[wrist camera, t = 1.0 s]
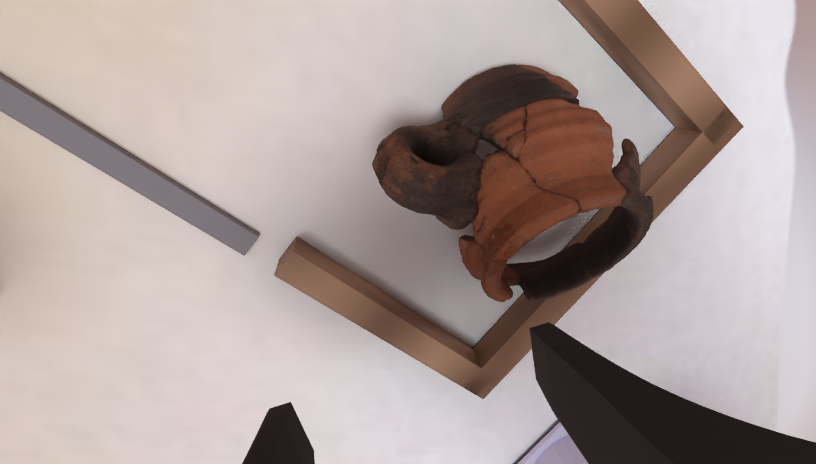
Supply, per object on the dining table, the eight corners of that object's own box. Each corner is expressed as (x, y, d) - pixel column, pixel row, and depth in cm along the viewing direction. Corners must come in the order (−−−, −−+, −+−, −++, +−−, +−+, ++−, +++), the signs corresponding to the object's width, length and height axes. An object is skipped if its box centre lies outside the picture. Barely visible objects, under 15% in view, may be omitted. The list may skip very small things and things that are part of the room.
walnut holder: (713, 122, 22) (743, 126, 21) (474, 377, 26) (483, 399, 24) (536, -83, 18) (556, -98, 16) (279, 259, 22) (274, 275, 20)
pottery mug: (607, 62, 21) (729, 176, 16) (515, 201, 28) (583, 312, 23) (373, 14, 16) (447, 155, 11) (329, 196, 23) (362, 337, 18)
